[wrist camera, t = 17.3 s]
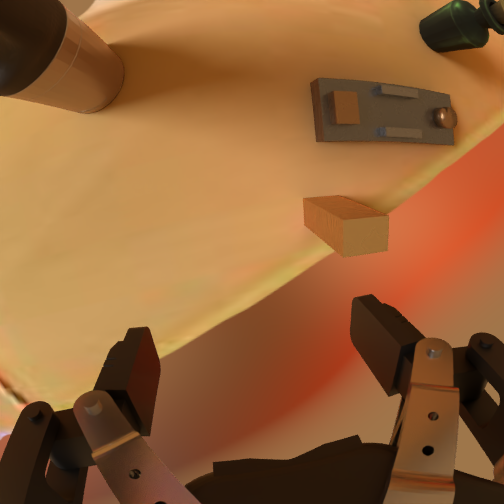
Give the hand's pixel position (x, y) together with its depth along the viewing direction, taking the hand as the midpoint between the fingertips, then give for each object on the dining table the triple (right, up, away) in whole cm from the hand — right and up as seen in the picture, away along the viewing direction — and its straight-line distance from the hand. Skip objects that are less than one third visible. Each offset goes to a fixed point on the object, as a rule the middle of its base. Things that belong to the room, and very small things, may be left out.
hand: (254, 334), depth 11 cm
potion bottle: (+30, +39, +21) cm, 53 cm away
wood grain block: (+9, +9, +28) cm, 31 cm away
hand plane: (+19, +22, +25) cm, 38 cm away
